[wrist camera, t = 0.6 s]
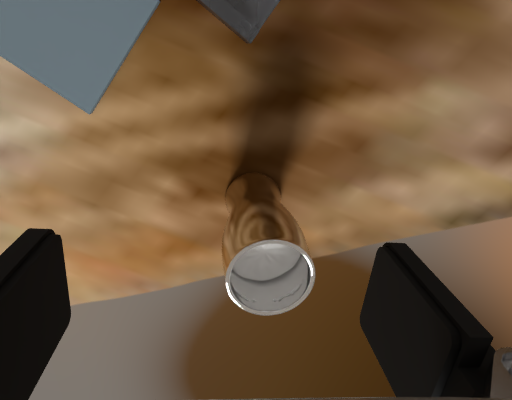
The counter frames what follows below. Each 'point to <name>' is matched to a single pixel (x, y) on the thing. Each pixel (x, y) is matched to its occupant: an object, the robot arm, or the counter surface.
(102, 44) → the mat
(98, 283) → the counter surface
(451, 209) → the counter surface
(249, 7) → the body
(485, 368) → the robot arm
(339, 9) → the counter surface
